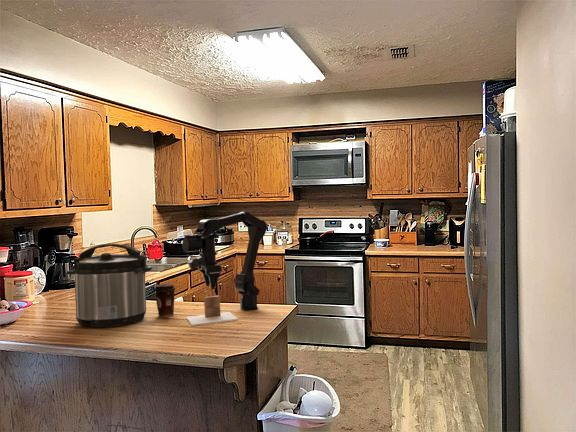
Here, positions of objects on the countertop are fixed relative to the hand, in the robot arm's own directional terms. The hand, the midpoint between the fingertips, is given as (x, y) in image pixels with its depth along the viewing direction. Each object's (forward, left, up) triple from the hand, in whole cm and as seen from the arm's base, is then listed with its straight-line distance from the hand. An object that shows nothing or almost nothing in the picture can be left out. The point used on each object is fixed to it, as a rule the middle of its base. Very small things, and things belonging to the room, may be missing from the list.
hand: (210, 287), depth 197 cm
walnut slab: (0, +3, -11) cm, 12 cm away
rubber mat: (+1, +5, -12) cm, 13 cm away
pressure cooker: (+38, -14, -12) cm, 42 cm away
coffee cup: (+17, -12, -12) cm, 24 cm away
